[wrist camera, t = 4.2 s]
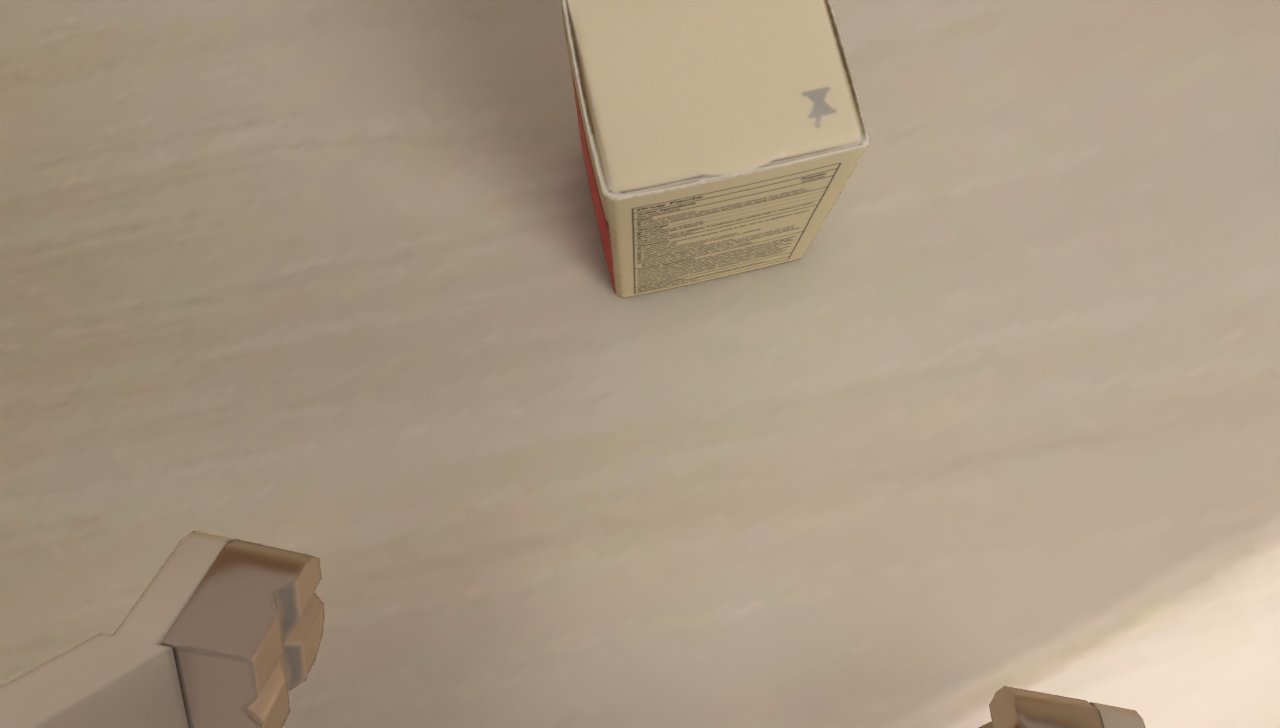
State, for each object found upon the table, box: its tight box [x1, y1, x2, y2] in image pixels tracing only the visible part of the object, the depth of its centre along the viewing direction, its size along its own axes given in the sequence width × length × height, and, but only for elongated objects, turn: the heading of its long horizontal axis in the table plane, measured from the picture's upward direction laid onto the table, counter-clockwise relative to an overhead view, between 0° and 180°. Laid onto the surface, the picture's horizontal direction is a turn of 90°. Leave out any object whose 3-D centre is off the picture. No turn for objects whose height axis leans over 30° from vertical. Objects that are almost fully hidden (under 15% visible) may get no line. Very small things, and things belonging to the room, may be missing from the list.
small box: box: [561, 0, 870, 298], centre depth 22 cm, size 5×4×8 cm
